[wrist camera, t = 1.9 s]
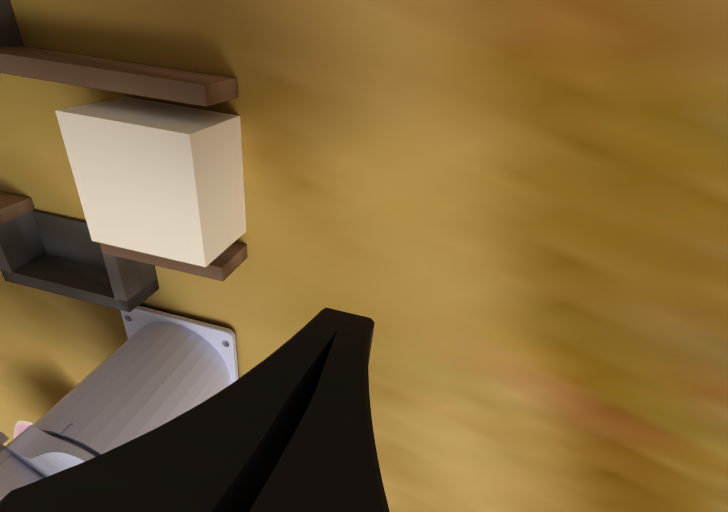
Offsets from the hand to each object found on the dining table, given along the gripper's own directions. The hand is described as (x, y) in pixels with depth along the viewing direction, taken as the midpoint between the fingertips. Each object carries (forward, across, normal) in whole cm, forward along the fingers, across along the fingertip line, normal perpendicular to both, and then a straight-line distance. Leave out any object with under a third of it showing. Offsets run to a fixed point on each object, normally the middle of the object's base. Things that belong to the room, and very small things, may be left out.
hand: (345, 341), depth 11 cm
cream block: (+10, +11, 0) cm, 15 cm away
